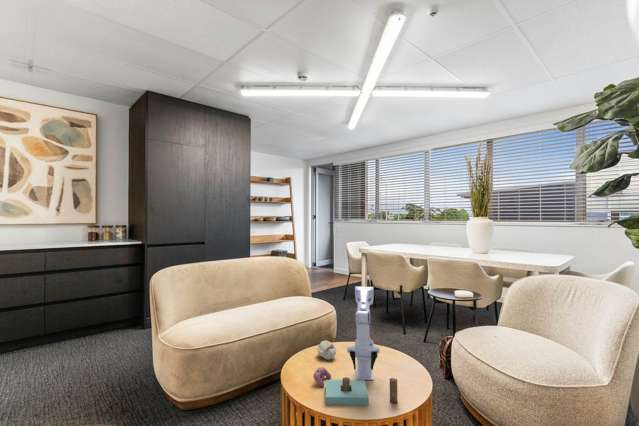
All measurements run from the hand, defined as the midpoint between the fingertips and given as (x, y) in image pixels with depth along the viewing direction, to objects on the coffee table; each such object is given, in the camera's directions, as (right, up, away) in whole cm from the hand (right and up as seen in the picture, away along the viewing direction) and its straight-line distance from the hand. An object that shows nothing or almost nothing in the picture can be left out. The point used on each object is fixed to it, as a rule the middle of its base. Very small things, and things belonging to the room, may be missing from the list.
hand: (363, 368), depth 134 cm
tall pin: (+12, -10, -7) cm, 17 cm away
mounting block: (-8, -10, -3) cm, 13 cm away
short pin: (-8, -10, -3) cm, 13 cm away
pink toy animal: (-18, -11, +9) cm, 23 cm away
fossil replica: (-16, -12, +36) cm, 41 cm away
